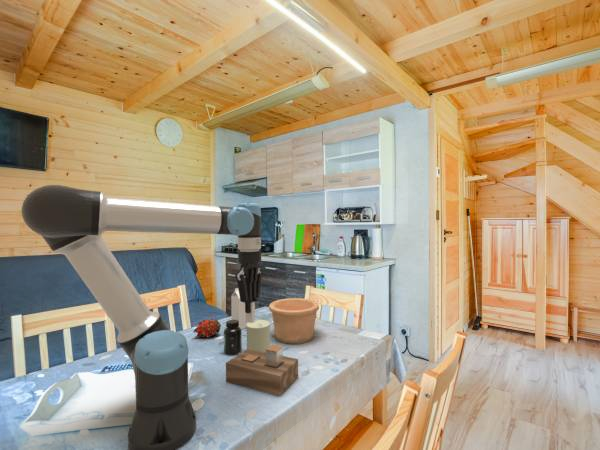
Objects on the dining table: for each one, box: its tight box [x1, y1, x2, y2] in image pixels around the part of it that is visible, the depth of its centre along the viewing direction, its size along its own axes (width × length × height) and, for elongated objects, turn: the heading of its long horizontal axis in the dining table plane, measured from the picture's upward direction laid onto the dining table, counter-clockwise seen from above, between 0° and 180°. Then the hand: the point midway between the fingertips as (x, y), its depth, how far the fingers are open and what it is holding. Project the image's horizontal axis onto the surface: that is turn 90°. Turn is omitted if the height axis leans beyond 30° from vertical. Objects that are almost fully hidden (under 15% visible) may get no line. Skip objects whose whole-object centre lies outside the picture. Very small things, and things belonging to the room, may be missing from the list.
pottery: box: [268, 297, 320, 345], centre depth 137 cm, size 22×22×14 cm
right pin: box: [265, 344, 284, 368], centre depth 99 cm, size 4×4×6 cm
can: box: [246, 319, 271, 352], centre depth 121 cm, size 9×9×12 cm
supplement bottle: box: [223, 319, 243, 356], centre depth 122 cm, size 7×7×12 cm
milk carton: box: [230, 287, 248, 330], centre depth 151 cm, size 7×7×19 cm
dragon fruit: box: [193, 317, 222, 339], centre depth 138 cm, size 8×8×12 cm
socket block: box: [225, 348, 299, 397], centre depth 101 cm, size 12×20×6 cm, turn 64°
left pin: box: [242, 354, 259, 363], centre depth 103 cm, size 4×4×6 cm
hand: (250, 321), depth 103 cm, fingers closed
